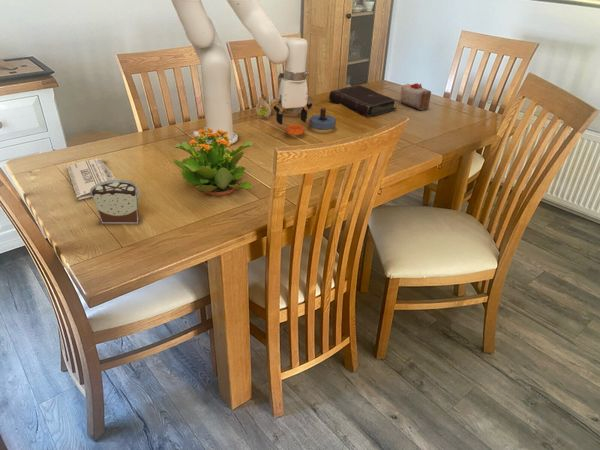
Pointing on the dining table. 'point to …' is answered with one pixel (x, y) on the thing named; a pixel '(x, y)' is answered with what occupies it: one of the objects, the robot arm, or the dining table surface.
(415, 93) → the food item
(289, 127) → the orange ring
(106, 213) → the cake slice
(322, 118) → the ring post
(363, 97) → the diary
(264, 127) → the dining table surface
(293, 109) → the coffee box
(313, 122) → the blue ring
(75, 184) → the newspaper
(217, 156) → the potted flower
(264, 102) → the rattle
